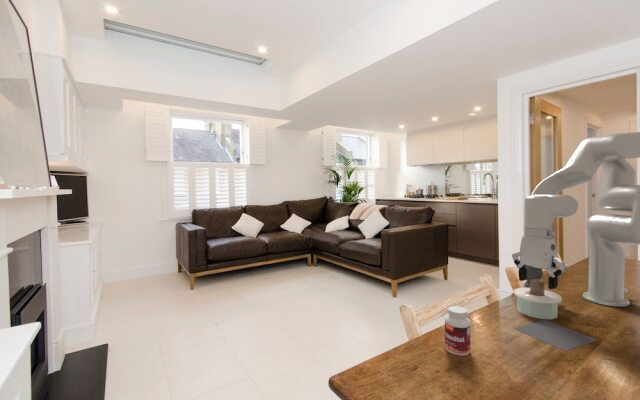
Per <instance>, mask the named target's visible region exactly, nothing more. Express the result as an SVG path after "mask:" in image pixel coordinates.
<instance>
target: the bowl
mask: <svg viewBox="0 0 640 400" xmlns="http://www.w3.org/2000/svg"><path fill="white" fill-rule="evenodd" d="M558 309H559V303H558V304H540V303H534V302H529V301H526V300H523V299H520V298H518V297H516V310H517V311H518V312H519V313H520V314H523V315H525V316H527V317H529V318H535V319H538V320H539V319H540V320H554V319H557V318H558Z"/></svg>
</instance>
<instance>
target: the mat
mask: <svg viewBox="0 0 640 400" xmlns="http://www.w3.org/2000/svg"><path fill="white" fill-rule="evenodd" d="M513 329H514V330H516V331H518V332H521V333H523V334H526V335H528V336H530V337H532V338H534V339H537V340H539V341H542V342H543V343H545V344H548V345H550V346H552V347H555V348H557V349H559V350H561V351H564V352H568V351H570V350H572V349H577V348H579V347H582V346H584V345H585V346H586V345H588V344H591V343H593V342H597V341H598V339H596V338H594V337H592V336H589V335H586V334H583V333H581V332H578V331H575V330H572V329H570V328H567V327H564V326H561V325H559V324H556V323H554V322H551V321H548V320H547V319H541V320H540V321H535V322H532V323H529V324H525V325H521V326H518V327H517V326H516V327H514V328H513Z"/></svg>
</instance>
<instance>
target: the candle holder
mask: <svg viewBox="0 0 640 400" xmlns="http://www.w3.org/2000/svg"><path fill="white" fill-rule="evenodd" d="M525 268H527V280H525V282H524V283H523V287H522V288H530V280H531V279H538V280H542V278H543V275H544V272H543V269H540V268H536V267H531V266H526V267H525Z"/></svg>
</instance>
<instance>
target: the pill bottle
mask: <svg viewBox="0 0 640 400" xmlns="http://www.w3.org/2000/svg"><path fill="white" fill-rule="evenodd" d="M468 312H469V311H468V309H467V308H465V307H462V306H458V305H457V306H456V305H454V306H452V305H451V306H449V307H448V309H447V315H446V316H445V318H444V348H445V350H446V351H447V352H448V353H449V354H452V355H454V356H462V357H463V356H468V355H469V354H470V352H471V319H469V318H468V315H469V314H468Z"/></svg>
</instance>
